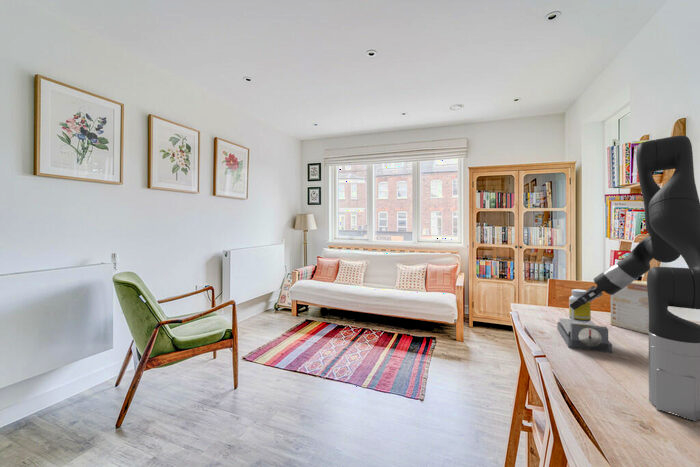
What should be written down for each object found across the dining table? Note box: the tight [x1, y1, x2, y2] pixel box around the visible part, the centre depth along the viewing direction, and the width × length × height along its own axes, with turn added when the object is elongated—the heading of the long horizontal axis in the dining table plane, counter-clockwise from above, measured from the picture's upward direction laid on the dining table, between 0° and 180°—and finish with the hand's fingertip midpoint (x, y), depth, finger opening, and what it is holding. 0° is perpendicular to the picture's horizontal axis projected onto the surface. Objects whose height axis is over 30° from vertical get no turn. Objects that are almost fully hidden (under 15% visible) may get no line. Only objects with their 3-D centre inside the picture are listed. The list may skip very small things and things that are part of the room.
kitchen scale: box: [556, 321, 613, 354], centre depth 110 cm, size 21×12×8 cm, turn 154°
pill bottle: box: [568, 288, 592, 323], centre depth 114 cm, size 6×6×12 cm
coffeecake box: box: [610, 279, 649, 335], centre depth 120 cm, size 15×7×20 cm, turn 22°
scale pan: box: [558, 317, 597, 335], centre depth 112 cm, size 16×11×1 cm, turn 154°
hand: (574, 305), depth 115 cm, fingers closed on pill bottle, 6 cm apart
